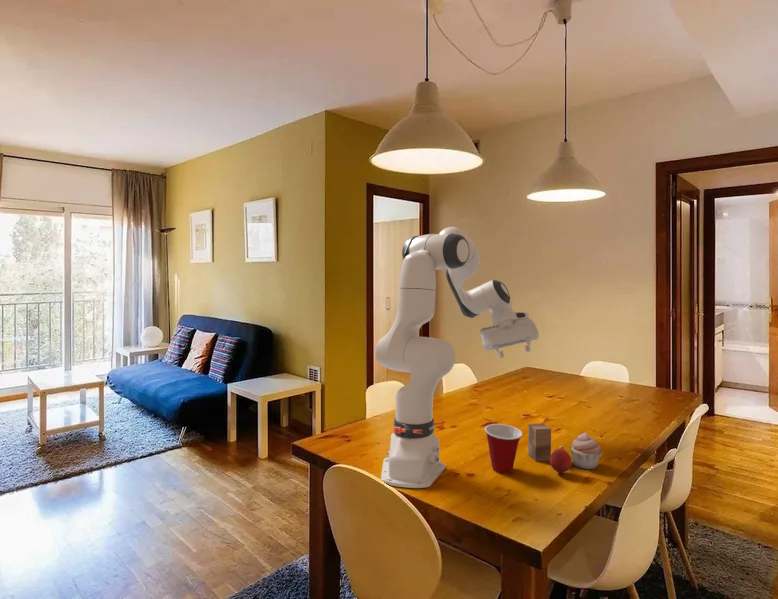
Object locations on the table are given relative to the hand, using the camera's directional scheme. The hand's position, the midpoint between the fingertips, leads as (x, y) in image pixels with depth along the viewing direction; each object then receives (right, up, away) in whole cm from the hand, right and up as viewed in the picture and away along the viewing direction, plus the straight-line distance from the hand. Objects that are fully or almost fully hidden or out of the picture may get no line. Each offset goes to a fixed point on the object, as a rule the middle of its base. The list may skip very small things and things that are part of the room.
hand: (515, 354), depth 166 cm
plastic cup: (-11, -31, -29) cm, 44 cm away
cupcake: (+14, -31, -26) cm, 43 cm away
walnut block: (+2, -30, -20) cm, 36 cm away
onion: (+4, -31, -32) cm, 45 cm away
